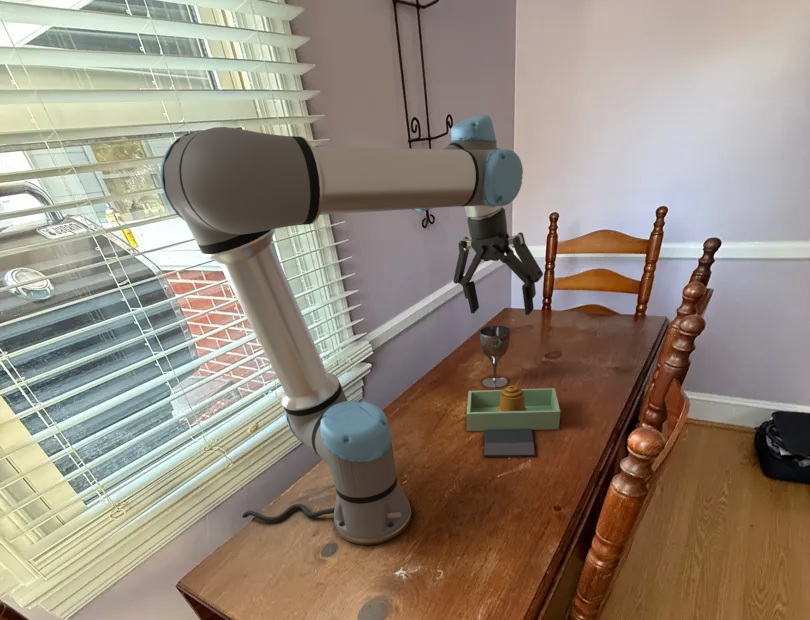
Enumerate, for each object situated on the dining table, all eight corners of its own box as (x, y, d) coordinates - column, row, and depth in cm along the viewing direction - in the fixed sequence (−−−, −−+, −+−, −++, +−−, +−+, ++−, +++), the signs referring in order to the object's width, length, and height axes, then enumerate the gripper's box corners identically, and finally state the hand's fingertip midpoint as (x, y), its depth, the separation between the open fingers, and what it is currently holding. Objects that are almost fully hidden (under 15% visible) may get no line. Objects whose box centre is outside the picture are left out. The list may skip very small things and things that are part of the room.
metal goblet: (514, 383, 134) (516, 331, 125) (489, 390, 132) (489, 338, 123) (499, 373, 140) (500, 323, 131) (475, 380, 138) (474, 330, 130)
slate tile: (484, 457, 107) (484, 455, 106) (485, 431, 115) (484, 429, 115) (534, 456, 105) (535, 454, 104) (531, 430, 113) (531, 428, 113)
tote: (467, 431, 117) (466, 413, 114) (469, 407, 126) (468, 390, 123) (558, 429, 113) (560, 411, 110) (553, 404, 122) (555, 387, 119)
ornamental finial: (490, 416, 120) (512, 406, 123) (510, 427, 115) (533, 416, 118) (490, 387, 116) (513, 377, 119) (511, 397, 110) (534, 387, 113)
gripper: (553, 197, 89) (561, 303, 103) (441, 210, 103) (461, 302, 117) (538, 214, 85) (548, 321, 99) (424, 225, 99) (447, 318, 113)
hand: (501, 311), depth 108 cm, fingers open, 13 cm apart
